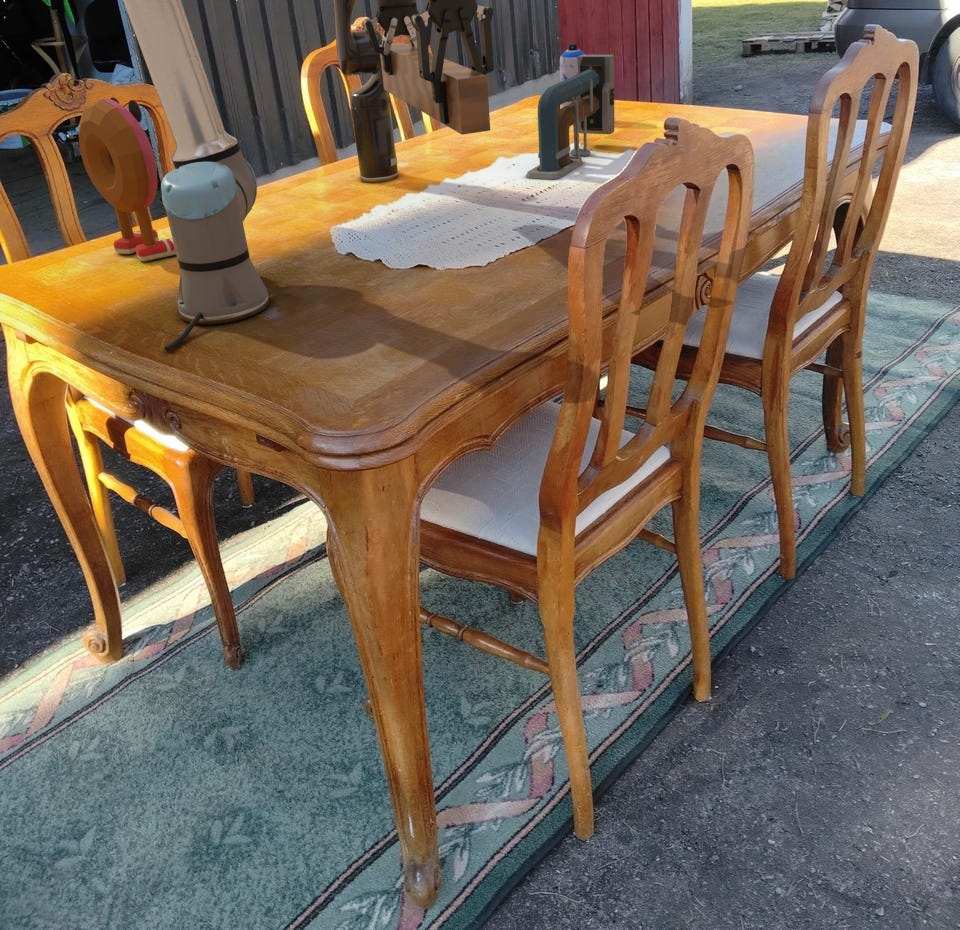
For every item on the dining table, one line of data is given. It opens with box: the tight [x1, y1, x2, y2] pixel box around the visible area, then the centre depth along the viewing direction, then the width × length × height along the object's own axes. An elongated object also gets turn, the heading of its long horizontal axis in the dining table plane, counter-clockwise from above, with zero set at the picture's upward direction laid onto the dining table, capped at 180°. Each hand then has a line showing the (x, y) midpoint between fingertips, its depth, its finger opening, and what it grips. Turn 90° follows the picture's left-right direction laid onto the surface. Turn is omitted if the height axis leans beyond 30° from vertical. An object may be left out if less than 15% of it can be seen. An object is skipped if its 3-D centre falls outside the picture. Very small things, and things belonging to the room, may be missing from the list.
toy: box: [78, 96, 177, 262], centre depth 190 cm, size 21×10×30 cm, turn 47°
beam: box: [379, 41, 491, 136], centre depth 178 cm, size 51×5×9 cm, turn 19°
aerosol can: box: [559, 43, 586, 109], centre depth 273 cm, size 8×8×20 cm
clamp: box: [525, 54, 615, 180], centre depth 232 cm, size 35×9×21 cm, turn 151°
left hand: (460, 119), depth 165 cm, fingers closed on beam, 5 cm apart
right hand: (403, 72), depth 193 cm, fingers closed on beam, 5 cm apart
